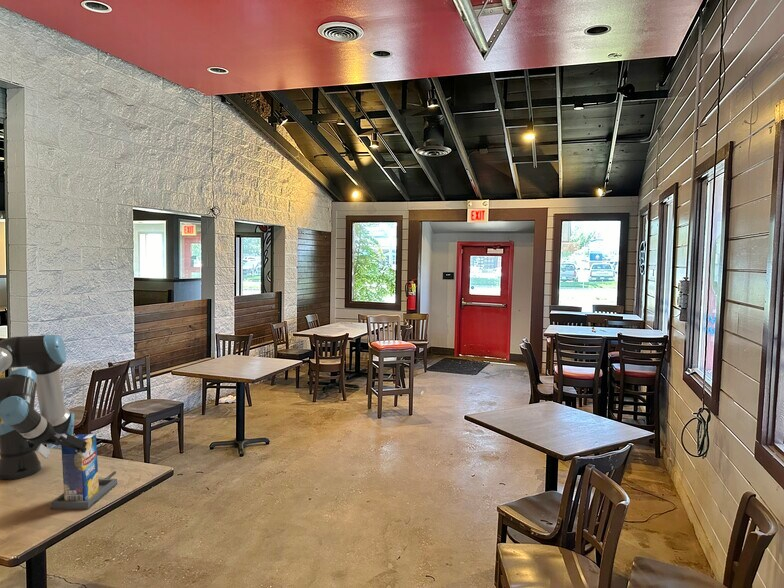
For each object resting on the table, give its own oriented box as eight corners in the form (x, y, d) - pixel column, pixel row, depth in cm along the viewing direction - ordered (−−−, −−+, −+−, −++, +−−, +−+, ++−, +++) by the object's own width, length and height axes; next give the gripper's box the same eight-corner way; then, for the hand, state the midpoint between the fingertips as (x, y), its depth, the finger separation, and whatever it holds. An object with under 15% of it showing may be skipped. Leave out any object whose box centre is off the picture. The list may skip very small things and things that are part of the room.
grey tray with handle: (98, 473, 216) (98, 467, 216) (131, 473, 216) (130, 467, 216) (51, 509, 186) (50, 502, 186) (88, 509, 186) (88, 502, 185)
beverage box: (99, 489, 199) (96, 433, 197) (84, 503, 188) (81, 444, 186) (80, 490, 198) (77, 434, 197) (64, 504, 188) (61, 445, 186)
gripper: (-9, 439, 166) (27, 465, 182) (69, 439, 166) (98, 465, 182) (2, 417, 170) (36, 444, 187) (78, 417, 170) (106, 444, 187)
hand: (67, 454), depth 184 cm, fingers open, 13 cm apart
